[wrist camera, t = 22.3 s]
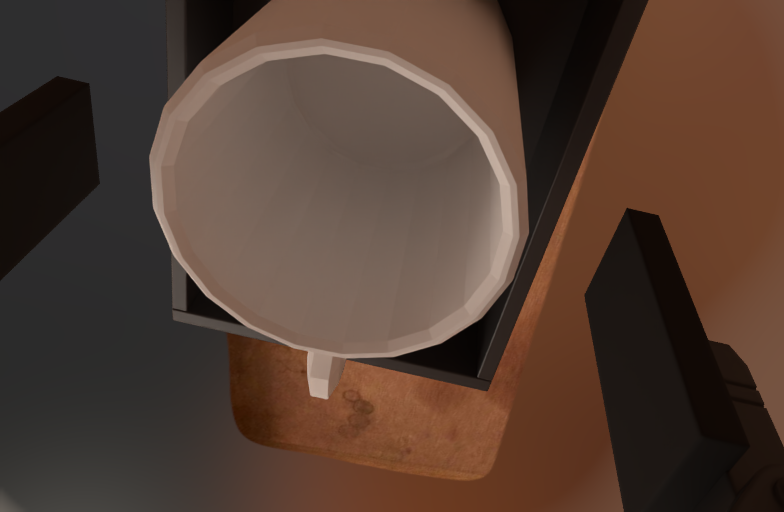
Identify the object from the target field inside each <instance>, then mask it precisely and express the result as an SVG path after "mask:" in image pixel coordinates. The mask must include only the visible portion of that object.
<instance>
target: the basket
mask: <svg viewBox="0 0 784 512" xmlns="http://www.w3.org/2000/svg"><path fill="white" fill-rule="evenodd" d="M270 1H271V0H166V41H167V80H168V81H167V84H168V101H169V100H170V98H171V97H172V96H173V95H174V94H175V92H176V91H177V90H178V89H179V88H180V86H181V85H182V84H183V83H184V81H185V80H186V79H187V78H188V77H189V75H190V74H191V73H192V72H193V70H194V69H195V68H196V67H197V66H198V64H199V63H200V62H201V61H202V60H203V59H205V58H206V57H207V56H208V55H209V54H210V53H211V52H213V51H214V50H215V49H216V48H217V47H218V46H219V45H221V44H222V43H223V42H224V41H225V40H226V39H227V38H229V37H230V36H231V35H232V34H233V33H234V32H235V31H237V30H238V29H239V28H240V27H241V26H242V25H243V24H245V23H246V22H247V21H248V20H249V19H250V18H251V17H253V16H254V15H255V14H256V13H257V12H258V11H260V10H261V9H262V8H263V7H264V6H265V5H266V4H268V3H269V2H270ZM647 2H648V0H498V3H499V5H500V8H501V10H502V13H503V15H504V18H505V21H506V23H507V26H508V28H509V31H510V33H511V36H512V40H513V49H514V59H515V69H516V79H517V89H518V99H519V109H520V118H521V128H522V138H523V148H524V158H525V168H526V178H527V199H528V221H529V234H528V237H527V240H526V243H525V246H524V249H523V252H522V255H521V258H520V261H519V263H518V266H517V269H516V272H515V275H514V278H513V281H512V282H511V283H510V284H509V286H508V287H507V288H506V289H505V290H504V292H503V293H502V294H501V295H500V296H499V298H498V299H497V300H496V301H495V303H494V304H493V305H492V306H491V307H490V309H489V310H488V311H487V312H486V314H485V315H484V316H483V317H482V318H481V319H479V320H478V321H476V322H475V323H473V324H471V325H470V326H468V327H467V328H465V329H463V330H462V331H460V332H459V333H457V334H455V335H454V336H452V337H451V338H449V339H447V340H446V341H444V342H443V343H441V344H438V345H434V346H431V347H427V348H424V349H420V350H417V351H413V352H410V353H406V354H403V355H399V356H396V357H375V358H346V359H347V360H351V361H355V362H360V363H364V364H369V365H373V366H377V367H382V368H386V369H390V370H395V371H399V372H404V373H408V374H412V375H417V376H421V377H426V378H430V379H434V380H439V381H443V382H448V383H452V384H456V385H461V386H465V387H470V388H474V389H478V390H483V391H488V389H489V387H490V384H491V382H492V379H493V377H494V375H495V372H496V370H497V367H498V365H499V362H500V360H501V358H502V355H503V353H504V350H505V348H506V345H507V343H508V341H509V338H510V336H511V333H512V331H513V328H514V326H515V324H516V321H517V319H518V316H519V314H520V311H521V309H522V306H523V304H524V302H525V299H526V297H527V294H528V292H529V289H530V287H531V285H532V282H533V280H534V277H535V275H536V272H537V270H538V268H539V265H540V263H541V260H542V258H543V255H544V253H545V251H546V248H547V246H548V243H549V241H550V238H551V236H552V233H553V231H554V229H555V226H556V224H557V221H558V219H559V216H560V214H561V212H562V209H563V207H564V204H565V202H566V199H567V197H568V195H569V192H570V190H571V187H572V185H573V182H574V180H575V178H576V175H577V173H578V170H579V168H580V165H581V163H582V161H583V158H584V156H585V153H586V151H587V148H588V146H589V143H590V141H591V139H592V136H593V134H594V131H595V129H596V126H597V124H598V122H599V119H600V117H601V114H602V112H603V109H604V107H605V105H606V102H607V100H608V97H609V95H610V92H611V90H612V88H613V85H614V83H615V80H616V78H617V75H618V73H619V70H620V68H621V66H622V63H623V61H624V58H625V56H626V53H627V51H628V49H629V46H630V44H631V41H632V39H633V36H634V34H635V32H636V29H637V27H638V24H639V22H640V19H641V17H642V14H643V12H644V10H645V7H646V5H647ZM171 262H172V263H171V264H172V303H173V304H172V307H173V320H175V321H180V322H184V323H189V324H193V325H198V326H202V327H206V328H210V329H215V330H219V331H224V332H228V333H232V334H237V335H241V336H245V337H250V338H254V339H259V340H263V341H267V342H272V343H276V344H281V345H285V346H288V345H286V344H284V343H281V342H279V341H277V340H275V339H272V338H270V337H268V336H266V335H264V334H261V333H259V332H257V331H255V330H252V329H250V328H248V327H246V326H245V325H244V324H242V323H241V322H240V321H238V320H237V319H236V318H234V317H233V316H232V315H230V314H229V313H228V312H227V311H225V310H224V309H223V308H221V307H220V306H219V305H217V304H216V303H215V302H213V301H212V300H211V299H209V298H208V297H207V296H206V295H205V294H204V293H203V292H202V290H201V289H200V288H199V287H198V285H197V284H196V283H195V282H194V280H193V279H192V278H191V277H190V276H189V274H188V273H187V272H186V271H185V269H184V268H183V267H182V266H181V264H180V263H179V262H178V261H177V259H176V258H175V257H174V256H173V253H172V251H171ZM289 347H290V346H289Z"/></svg>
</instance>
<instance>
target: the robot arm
mask: <svg viewBox="0 0 784 512" xmlns="http://www.w3.org/2000/svg"><path fill="white" fill-rule="evenodd" d="M99 184H100V181H99V172H98V162H97V153H96V143H95V134H94V125H93V116H92V105H91V96H90V86H89V83H85V82H80V81H76V80H72V79H67V78H63V77H59V76H57V77H55V78H54V79H52V80H51V81H49V82H47V83H46V84H44V85H43V86H41V87H39V88H38V89H37V90H35V91H33V92H32V93H30V94H28V95H27V96H25V97H24V98H22V99H20V100H19V101H17V102H16V103H14V104H13V105H11V106H9V107H8V108H6V109H5V110H3V111H1V112H0V280H1V279H2V278H3V277H4V276H5V275H7V274H8V273H9V272H10V271H11V270H12V269H13V268H14V266H16V265H17V264H18V263H19V262H20V261H21V260H22V259H23V258H24V257H25V256H26V255H27V254H28V253H29V252H30V251H31V250H32V249H33V248H34V247H35V246H36V245H37V244H38V243H39V242H40V241H41V240H42V239H43V238H44V237H45V236H47V234H49V233H50V232H51V231H52V230H53V229H54V228H55V227H56V226H57V225H58V224H59V223H60V222H61V221H62V220H63V219H64V218H65V217H66V216H67V215H68V214H69V213H70V212H71V211H72V210H73V209H74V208H75V207H76V206H77V205H78V204H79V203H80V202H81V201H82V200H83V199H85V197H87V196H88V194H89V193H91V191H92V190H94V189H95V188H96V187H97V186H98V185H99ZM585 302H586V307H587V313H588V318H589V323H590V329H591V334H592V340H593V345H594V351H595V356H596V361H597V367H598V373H599V378H600V383H601V389H602V394H603V399H604V405H605V411H606V416H607V421H608V427H609V432H610V437H611V443H612V448H613V454H614V460H615V465H616V470H617V476H618V481H619V487H620V492H621V498H622V503H623V509H624V512H784V447H783V444H782V442H781V440H780V438H779V436H778V433H777V431H776V429H775V427H774V424H773V422H772V420H771V418H770V415H769V413H768V411H767V409H766V408H764V402H763V400H762V398H761V395H760V393H759V391H756V387H757V386H756V384H755V382H754V380H753V378H752V375H751V373H750V371H749V369H748V367H747V365H746V364H745V363H744V362H743V360H742V359H741V358H740V357H739V356H738V355H737V354H736V352H735V351H734V350H733V349H732V348H731V347H730V346H729V345H727V344H723V343H718V342H714V341H709V340H708V338H707V336H706V333H705V331H704V328H703V326H702V323H701V321H700V318H699V316H698V314H697V311H696V308H695V306H694V303H693V301H692V298H691V296H690V293H689V291H688V288H687V286H686V283H685V281H684V278H683V276H682V274H681V271H680V268H679V266H678V263H677V261H676V258H675V256H674V253H673V251H672V248H671V245H670V243H669V240H668V238H667V235H666V233H665V230H664V228H663V226H662V223H661V220H660V218H659V216H658V215H655V214H650V213H646V212H642V211H637V210H633V209H629V208H627V209H626V211H625V213H624V215H623V217H622V219H621V221H620V223H619V225H618V227H617V230H616V232H615V234H614V236H613V238H612V240H611V242H610V244H609V246H608V248H607V250H606V252H605V254H604V256H603V258H602V260H601V262H600V264H599V267H598V268H597V271H596V273H595V275H594V277H593V279H592V281H591V283H590V285H589V287H588V289H587V291H586V293H585Z"/></svg>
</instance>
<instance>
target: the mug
mask: <svg viewBox="0 0 784 512" xmlns="http://www.w3.org/2000/svg"><path fill="white" fill-rule="evenodd" d="M149 160H150V173H151V185H152V197H153V208H154V211H155V213H156V216H157V218H158V220H159V223H160V225H161V227H162V230H163V232H164V234H165V237H166V239H167V241H168V244H169V246H170V249H171V251H172V253H173V256H174V257H175V258H176V259H177V261H178V262H179V263H180V264H181V266H182V267H183V268H184V269H185V271H186V272H187V273H188V274H189V276H190V277H191V278H192V279H193V280H194V282H195V283H196V284H197V285H198V287H199V288H200V289H201V290H202V292H203V293H204V294H205V295H206V296H207V297H208V298H209V299H211V300H212V301H213V302H215V303H216V304H217V305H219V306H220V307H221V308H223V309H224V310H225V311H227V312H228V313H229V314H230V315H232V316H233V317H234V318H236V319H237V320H238V321H240V322H241V323H242V324H244V325H245V326H246V327H248V328H250V329H252V330H255V331H257V332H259V333H261V334H264V335H266V336H268V337H270V338H272V339H275V340H277V341H279V342H281V343H284V344H286V345H288V346H290V347H292V348H295V349H300V350H305V351H308V357H307V375H308V384H309V390H310V396H314V397H319V398H323V399H328V398H329V397H330V395H331V394H332V392H333V391H334V389H335V388H336V386H337V385H338V383H339V380H340V378H341V375H342V372H343V370H344V366H345V362H346V358H375V357H396V356H399V355H403V354H406V353H410V352H413V351H417V350H420V349H424V348H427V347H431V346H434V345H438V344H441V343H443V342H444V341H446V340H447V339H449V338H451V337H452V336H454V335H455V334H457V333H459V332H460V331H462V330H463V329H465V328H467V327H468V326H470V325H471V324H473V323H475V322H476V321H478V320H479V319H481V318H482V317H483V316H484V315H485V314H486V312H487V311H488V310H489V309H490V307H491V306H492V305H493V304H494V303H495V301H496V300H497V299H498V298H499V296H500V295H501V294H502V293H503V292H504V290H505V289H506V288H507V287H508V286H509V284H510V283H511V282H512V281H513V278H514V275H515V272H516V269H517V266H518V263H519V261H520V258H521V255H522V252H523V249H524V246H525V243H526V240H527V237H528V234H529V221H528V199H527V178H526V168H525V158H524V148H523V138H522V128H521V118H520V109H519V99H518V89H517V79H516V69H515V59H514V49H513V40H512V36H511V33H510V31H509V28H508V26H507V23H506V21H505V18H504V15H503V13H502V10H501V8H500V5H499V3H498V0H271V1H270V2H269V3H268V4H266V5H265V6H264V7H263V8H262V9H261V10H260V11H258V12H257V13H256V14H255V15H254V16H253V17H251V18H250V19H249V20H248V21H247V22H246V23H245V24H243V25H242V26H241V27H240V28H239V29H238V30H237V31H235V32H234V33H233V34H232V35H231V36H230V37H229V38H227V39H226V40H225V41H224V42H223V43H222V44H221V45H219V46H218V47H217V48H216V49H215V50H214V51H213V52H211V53H210V54H209V55H208V56H207V57H206V58H205V59H203V60H202V61H201V62H200V63H199V64H198V66H197V67H196V68H195V69H194V70H193V72H192V73H191V74H190V75H189V77H188V78H187V79H186V80H185V81H184V83H183V84H182V85H181V86H180V88H179V89H178V90H177V91H176V92H175V94H174V95H173V96H172V97H171V98H170V100H169V101H168V102H167V103H166V105H165V106H164V109H163V112H162V116H161V119H160V122H159V126H158V129H157V132H156V136H155V139H154V142H153V146H152V149H151V152H150V156H149Z"/></svg>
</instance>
